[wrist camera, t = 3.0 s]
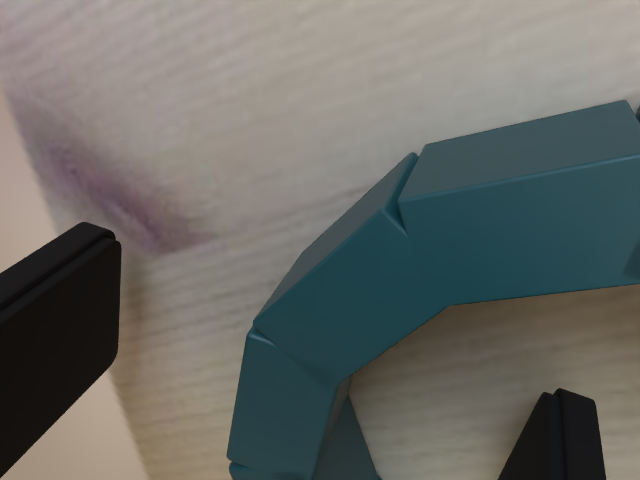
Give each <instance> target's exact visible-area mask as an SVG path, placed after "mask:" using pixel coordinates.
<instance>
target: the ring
mask: <svg viewBox="0 0 640 480" xmlns="http://www.w3.org/2000/svg"><path fill="white" fill-rule="evenodd" d="M635 284H640V108H639V110H638V112H637V114H636V116H635V114H634V113H633V111H632V109H631V108H630V106H629V104H628V102H627V101H626V100H622V101H617V102H613V103H608V104H604V105H599V106H595V107H591V108H586V109H582V110H577V111H573V112H568V113H564V114H559V115H555V116H551V117H546V118H542V119H537V120H533V121H528V122H524V123H519V124H515V125H511V126H506V127H502V128H497V129H493V130H488V131H484V132H479V133H475V134H470V135H466V136H462V137H457V138H453V139H448V140H444V141H439V142H435V143H430V144H427V145H425V147H424V149H423V151H422V153H421V155H420V156H419V157H418V156H417V155H416V154H415V153H413V152H412V153H410V154H409V155H408V156H407V157H405V158H404V159H403V160H402V161H401V162H400V163H399V164H398V165H397V166H396V167H395V168H394V169H392V170H391V171H390V172H389V173H388V174H387V175H386V176H385V177H384V178H383V179H382V180H381V181H379V182H378V183H377V184H376V185H375V186H374V187H373V188H372V189H371V190H370V191H369V192H368V193H366V194H365V195H364V196H363V197H362V198H361V199H360V200H359V201H358V202H357V203H356V204H355V205H353V206H352V207H351V208H350V209H349V210H348V211H347V212H346V213H345V214H344V215H343V216H342V217H340V218H339V219H338V220H337V221H336V222H335V223H334V224H333V225H332V226H331V227H330V228H329V229H327V230H326V231H325V232H324V233H323V234H322V235H321V236H320V237H319V238H318V239H317V240H316V241H314V242H313V243H312V244H311V245H310V246H309V247H308V248H307V249H306V250H305V251H304V252H303V253H302V254H301V255H300V257H299V258H298V259H297V261H296V262H295V264H294V265H293V266H292V268H291V269H290V271H289V272H288V273H287V275H286V276H285V277H284V279H283V280H282V282H281V283H280V284H279V286H278V287H277V289H276V290H275V291H274V293H273V294H272V296H271V297H270V298H269V300H268V301H267V302H266V304H265V305H264V307H263V308H262V309H261V311H260V312H259V314H258V315H257V316H256V318H255V319H254V321H253V326H252V328H251V329H250V331H249V332H248V333H247V336H246V342H245V348H244V354H243V359H242V365H241V371H240V377H239V383H238V389H237V395H236V401H235V407H234V413H233V419H232V425H231V431H230V437H229V443H228V449H227V458H228V459H229V460H231V461H232V462H231V464H230V466H229V472H230V474H231V476H232V478H233V480H382V479H381V478H380V477H378V476H377V474H376V472H375V469H374V466H373V463H372V460H371V458H370V455H369V452H368V449H367V446H366V444H365V441H364V438H363V435H362V433H361V430H360V427H359V424H358V421H357V419H356V416H355V413H354V410H353V407H352V405H351V402H350V399H349V396H348V390H349V387H350V384H351V380H352V377H353V374H354V373H355V372H357V371H358V370H360V369H361V368H362V367H364V366H365V365H367V364H368V363H369V362H371V361H372V360H374V359H375V358H377V357H378V356H379V355H381V354H382V353H384V352H385V351H386V350H388V349H389V348H391V347H392V346H394V345H395V344H396V343H398V342H399V341H401V340H402V339H403V338H405V337H406V336H408V335H409V334H411V333H412V332H413V331H415V330H416V329H418V328H419V327H420V326H422V325H423V324H425V323H426V322H428V321H429V320H430V319H432V318H433V317H435V316H436V315H437V314H439V313H440V312H442V311H443V310H445V309H446V308H447V307H449V306H452V305H461V304H469V303H478V302H487V301H496V300H504V299H513V298H522V297H530V296H539V295H548V294H557V293H565V292H574V291H583V290H591V289H600V288H609V287H618V286H626V285H635Z"/></svg>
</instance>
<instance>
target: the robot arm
mask: <svg viewBox="0 0 640 480" xmlns="http://www.w3.org/2000/svg"><path fill="white" fill-rule="evenodd" d="M120 278H121V244H120V242H118V241H116V237H115V235H114V233H113V232H112V231H110V230H108V229H105V228H102V227H99V226H96V225H93V224H90V223H88V222H82V223H79V224H77V225H76V226H74V227H73V228H71V229H70V230H68V231H66V232H65V233H63V234H62V235H60V236H59V237H57V238H55V239H54V240H52V241H51V242H49V243H47V244H46V245H44V246H43V247H41V248H40V249H38V250H36V251H35V252H33V253H32V254H30V255H29V256H27V257H25V258H24V259H22V260H21V261H19V262H18V263H16V264H14V265H13V266H11V267H10V268H8V269H7V270H5V271H3V272H2V273H0V478H1V477H2V476H3V475H4V474H5V473H6V472H7V471H8V470H9V469H10V468H11V467H12V466H13V465H14V464H15V463H16V462H17V461H18V460H19V459H20V458H21V457H22V456H23V455H24V454H25V453H26V452H27V450H28V449H29V448H30V447H31V446H32V445H33V444H34V443H35V442H36V441H37V440H38V439H39V438H40V437H41V436H42V435H43V434H44V433H45V432H46V431H47V430H48V429H49V428H50V427H51V426H52V425H53V424H54V423H55V422H56V421H57V420H58V419H59V418H60V417H61V416H62V415H63V414H64V413H65V412H66V411H67V410H68V409H69V408H70V407H71V406H72V405H73V404H74V403H75V402H76V400H78V398H79V397H81V395H82V394H83V393H84V392H85V391H86V390H87V389H88V388H89V387H90V386H91V385H92V384H93V383H94V382H95V381H96V380H97V379H98V378H99V377H100V376H101V375H102V374H103V373H104V372H105V371H106V370H107V369H108V368H109V367H110V366H111V364H112V363H113V361H114V360H115V357H116V355H117V352H118V339H119V309H120ZM498 480H606V475H605V467H604V460H603V453H602V446H601V439H600V431H599V424H598V417H597V410H596V404H595V401H594V400H593V399H590V398H587V397H584V396H581V395H579V394H576V393H573V392H570V391H567V390H564V389H561V388H559V389H557V390H556V391H555V392H554V394H553V395H552V394H550V393H547V392H543V393H542V394H541V396H540V398H539V400H538V402H537V404H536V405H535V407H534V409H533V411H532V413H531V415H530V417H529V419H528V421H527V423H526V425H525V427H524V429H523V431H522V433H521V435H520V437H519V439H518V441H517V442H516V444H515V446H514V448H513V450H512V452H511V454H510V456H509V458H508V460H507V462H506V464H505V466H504V468H503V470H502V472H501V474H500V476H499V478H498Z"/></svg>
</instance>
